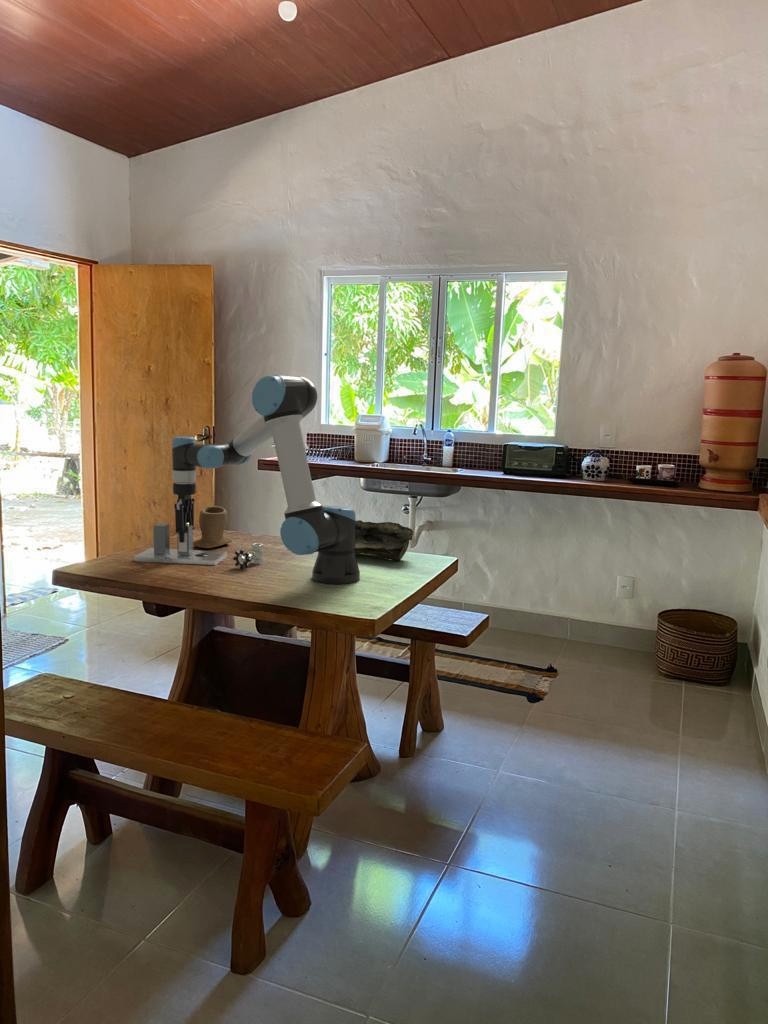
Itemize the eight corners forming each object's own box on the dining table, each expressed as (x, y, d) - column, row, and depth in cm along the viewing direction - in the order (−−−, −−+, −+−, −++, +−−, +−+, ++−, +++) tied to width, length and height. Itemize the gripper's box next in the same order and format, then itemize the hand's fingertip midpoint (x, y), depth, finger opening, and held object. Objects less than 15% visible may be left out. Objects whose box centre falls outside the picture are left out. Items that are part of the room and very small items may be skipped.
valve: (252, 560, 261) (232, 568, 250) (252, 542, 260) (232, 548, 249) (269, 563, 258) (249, 570, 248) (269, 544, 257) (249, 550, 246)
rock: (411, 576, 265) (427, 541, 272) (400, 556, 255) (416, 520, 262) (344, 562, 278) (360, 529, 285) (331, 543, 269) (348, 509, 276)
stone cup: (210, 552, 271) (210, 511, 269) (187, 547, 278) (187, 507, 275) (240, 545, 284) (240, 506, 281) (218, 541, 290) (217, 502, 288)
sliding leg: (189, 555, 258) (188, 524, 256) (177, 554, 258) (177, 523, 257) (192, 552, 262) (192, 522, 260) (181, 552, 262) (181, 521, 261)
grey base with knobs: (215, 565, 253) (215, 531, 251) (134, 561, 255) (133, 527, 253) (227, 555, 266) (227, 523, 265) (150, 552, 269) (149, 520, 267)
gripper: (182, 478, 265) (183, 544, 269) (164, 485, 248) (165, 554, 252) (203, 479, 264) (203, 545, 268) (186, 486, 247) (187, 555, 251)
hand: (185, 549), depth 260 cm, fingers closed on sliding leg, 4 cm apart
